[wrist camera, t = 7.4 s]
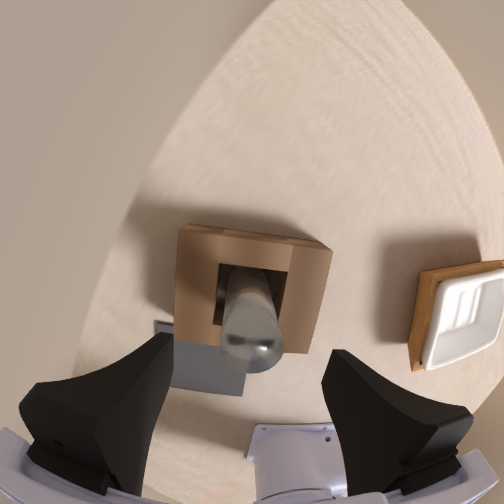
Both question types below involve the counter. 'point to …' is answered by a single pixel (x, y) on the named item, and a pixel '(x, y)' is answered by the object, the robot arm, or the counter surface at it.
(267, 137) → the counter surface
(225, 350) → the peg
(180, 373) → the mat
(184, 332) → the block
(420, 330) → the soap dish
